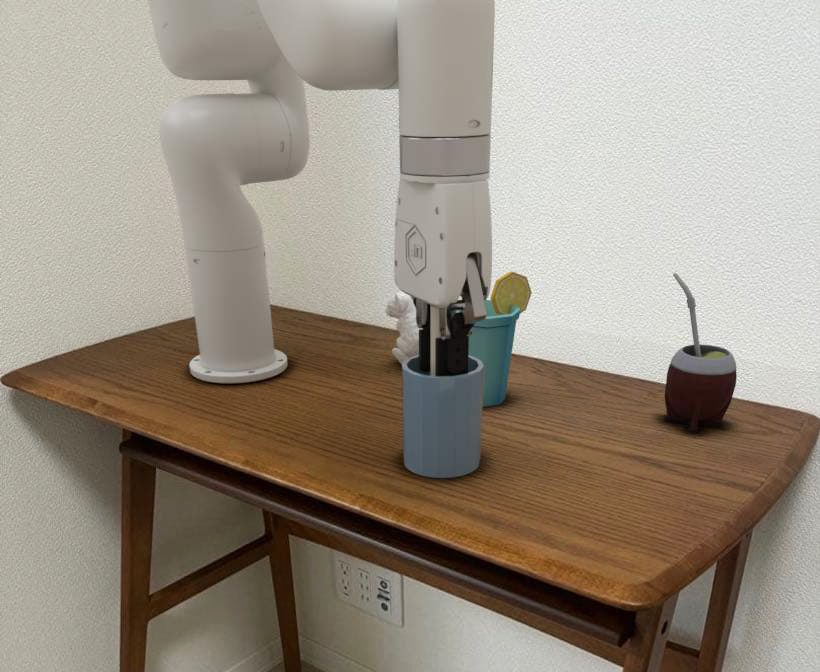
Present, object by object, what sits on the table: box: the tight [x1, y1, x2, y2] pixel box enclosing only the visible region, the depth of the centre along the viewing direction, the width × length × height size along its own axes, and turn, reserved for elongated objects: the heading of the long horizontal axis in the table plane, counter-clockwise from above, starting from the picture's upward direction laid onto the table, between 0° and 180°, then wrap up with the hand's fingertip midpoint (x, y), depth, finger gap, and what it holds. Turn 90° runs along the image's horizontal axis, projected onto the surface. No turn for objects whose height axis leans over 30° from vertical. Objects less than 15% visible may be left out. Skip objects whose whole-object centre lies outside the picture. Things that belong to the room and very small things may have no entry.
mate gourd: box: [663, 272, 737, 435], centre depth 86 cm, size 8×8×15 cm
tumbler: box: [401, 355, 484, 479], centre depth 79 cm, size 8×8×10 cm
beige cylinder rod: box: [431, 305, 457, 376], centre depth 76 cm, size 2×2×14 cm
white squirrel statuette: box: [384, 289, 423, 365], centre depth 105 cm, size 8×7×12 cm
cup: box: [457, 270, 533, 408], centre depth 93 cm, size 14×8×15 cm, turn 134°
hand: (443, 372), depth 77 cm, fingers closed on beige cylinder rod, 2 cm apart
